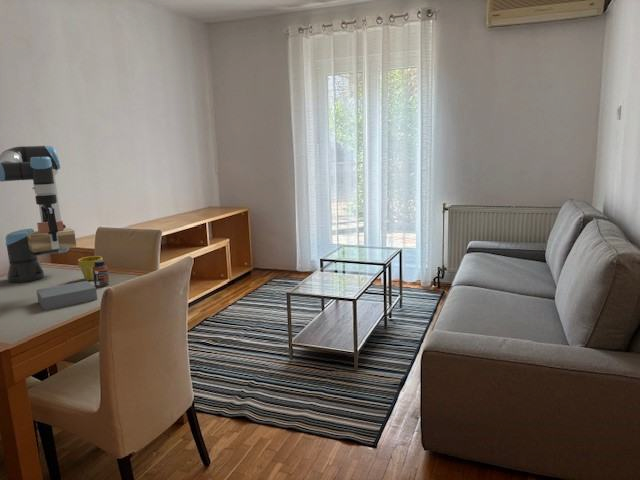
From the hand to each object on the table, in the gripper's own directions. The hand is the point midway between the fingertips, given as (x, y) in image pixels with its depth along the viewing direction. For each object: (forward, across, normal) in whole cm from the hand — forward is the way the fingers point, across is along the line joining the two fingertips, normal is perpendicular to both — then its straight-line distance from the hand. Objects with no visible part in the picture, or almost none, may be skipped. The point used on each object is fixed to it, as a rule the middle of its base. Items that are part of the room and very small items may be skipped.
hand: (53, 246), depth 201 cm
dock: (+20, +16, 0) cm, 26 cm away
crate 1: (-7, 0, -2) cm, 7 cm away
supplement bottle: (+20, +3, +17) cm, 26 cm away
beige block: (0, 0, 0) cm, 0 cm away
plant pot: (+20, -13, +16) cm, 29 cm away
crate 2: (-7, 0, +2) cm, 7 cm away
